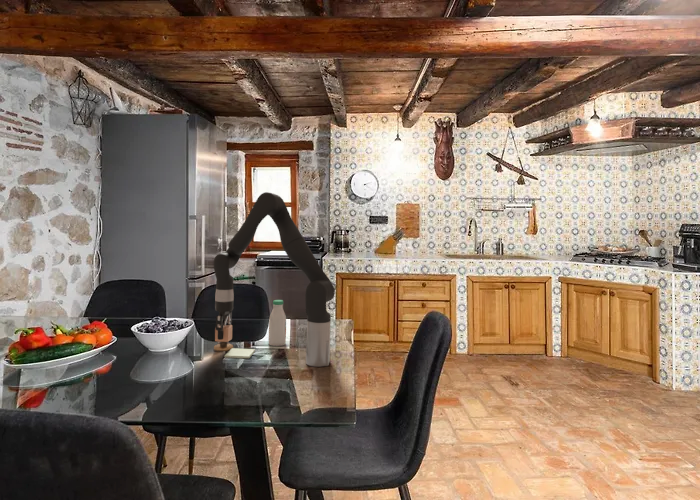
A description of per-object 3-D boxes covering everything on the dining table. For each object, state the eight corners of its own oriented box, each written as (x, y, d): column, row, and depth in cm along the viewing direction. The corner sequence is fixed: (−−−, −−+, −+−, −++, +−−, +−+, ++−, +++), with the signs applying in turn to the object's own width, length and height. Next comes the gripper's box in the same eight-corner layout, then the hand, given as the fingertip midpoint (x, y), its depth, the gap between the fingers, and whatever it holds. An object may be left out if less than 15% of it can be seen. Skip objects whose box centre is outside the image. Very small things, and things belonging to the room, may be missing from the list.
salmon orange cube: (232, 338, 189) (232, 324, 189) (228, 341, 184) (228, 327, 183) (219, 337, 190) (219, 324, 189) (215, 341, 184) (215, 327, 184)
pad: (255, 351, 185) (255, 349, 185) (249, 358, 176) (249, 356, 175) (232, 350, 186) (232, 348, 186) (224, 357, 176) (224, 355, 176)
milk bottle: (284, 346, 193) (285, 302, 192) (266, 346, 193) (267, 301, 192) (286, 342, 201) (288, 299, 200) (270, 341, 201) (271, 298, 200)
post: (235, 346, 191) (235, 326, 190) (229, 352, 183) (230, 331, 182) (217, 345, 191) (217, 325, 190) (211, 351, 183) (211, 330, 182)
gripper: (227, 302, 178) (227, 341, 179) (237, 296, 193) (237, 332, 194) (209, 302, 179) (209, 340, 180) (221, 296, 193) (220, 332, 194)
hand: (223, 336), depth 187 cm, fingers open, 8 cm apart
